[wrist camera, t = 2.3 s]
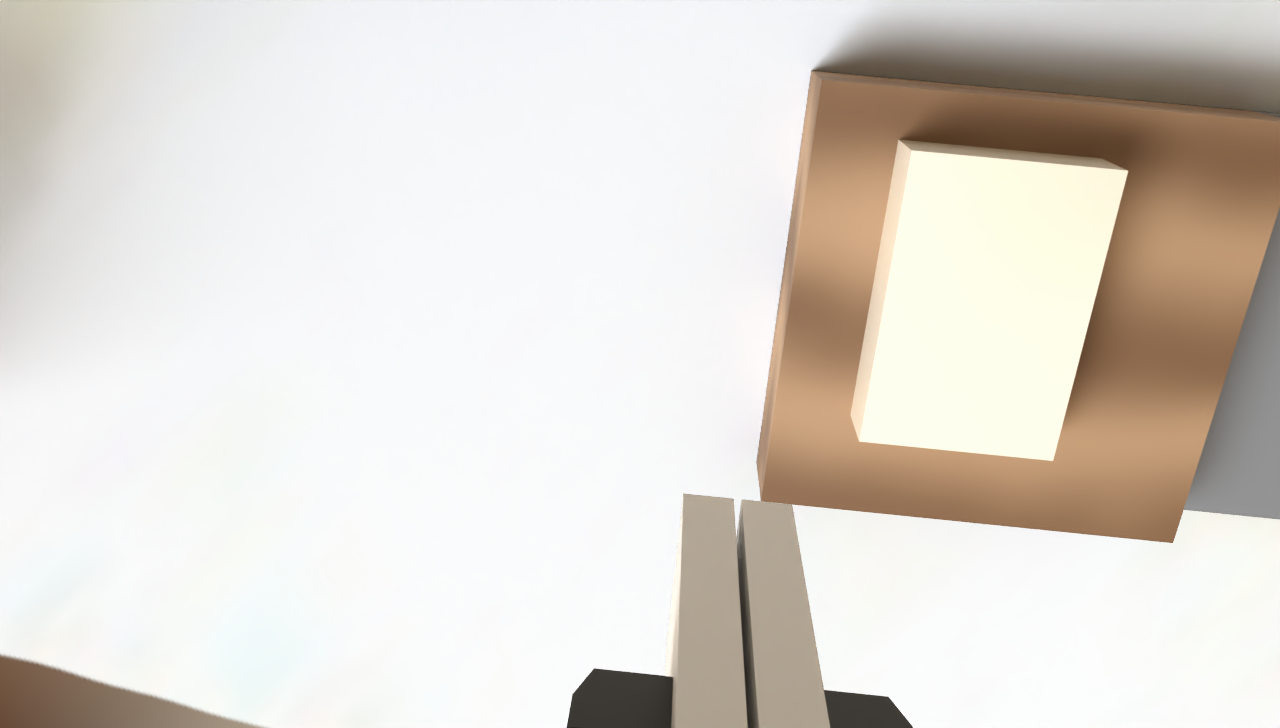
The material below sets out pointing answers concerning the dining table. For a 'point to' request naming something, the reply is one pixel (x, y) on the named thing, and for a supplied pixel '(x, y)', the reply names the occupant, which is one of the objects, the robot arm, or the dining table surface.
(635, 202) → the dining table surface
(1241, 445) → the mat
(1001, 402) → the tile
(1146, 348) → the board
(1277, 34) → the dining table surface
